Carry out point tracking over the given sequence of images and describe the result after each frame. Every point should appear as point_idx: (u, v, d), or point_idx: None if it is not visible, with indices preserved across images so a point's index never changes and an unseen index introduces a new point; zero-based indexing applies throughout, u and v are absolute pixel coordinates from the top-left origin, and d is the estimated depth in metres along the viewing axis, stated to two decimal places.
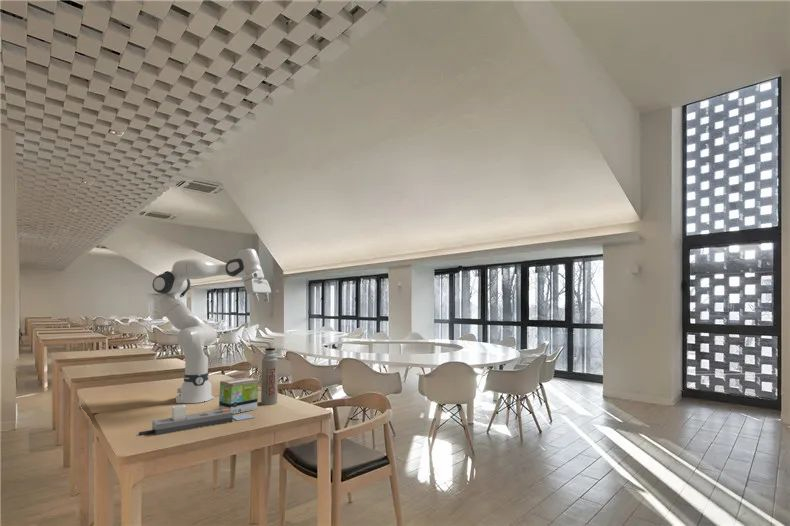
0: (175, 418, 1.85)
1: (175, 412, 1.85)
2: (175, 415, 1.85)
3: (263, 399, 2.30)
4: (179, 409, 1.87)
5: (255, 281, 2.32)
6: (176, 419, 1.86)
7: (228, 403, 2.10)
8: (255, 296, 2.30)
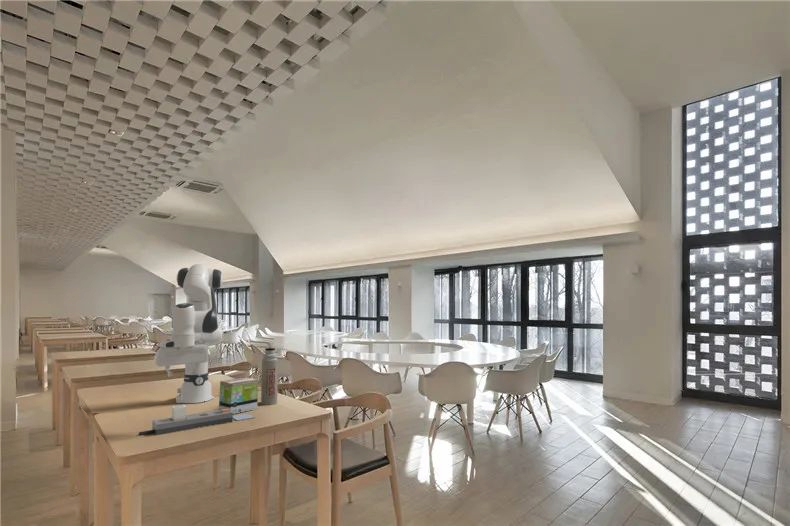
0: (175, 418, 1.85)
1: (175, 412, 1.85)
2: (175, 415, 1.85)
3: (263, 399, 2.30)
4: (179, 409, 1.87)
5: (171, 351, 1.86)
6: (176, 419, 1.86)
7: (228, 403, 2.10)
8: (166, 369, 1.86)
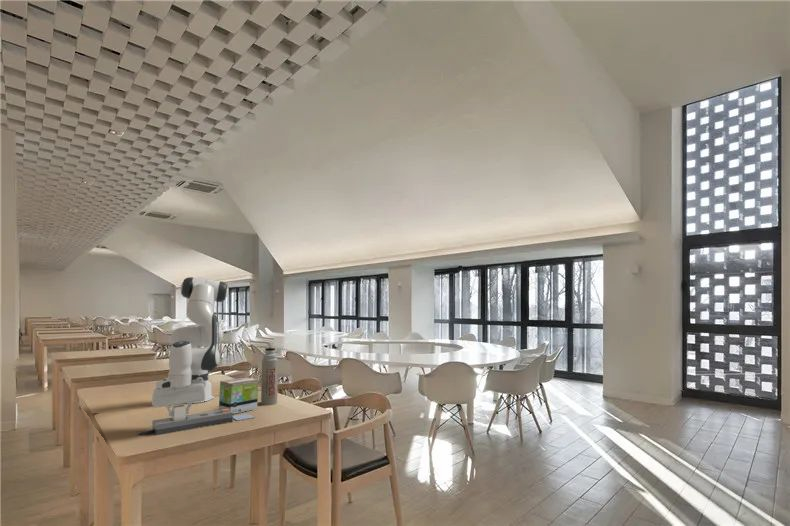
0: (175, 418, 1.85)
1: (175, 412, 1.85)
2: (175, 415, 1.85)
3: (263, 399, 2.30)
4: (179, 409, 1.87)
5: (167, 391, 1.84)
6: (176, 419, 1.86)
7: (228, 403, 2.10)
8: (167, 409, 1.86)
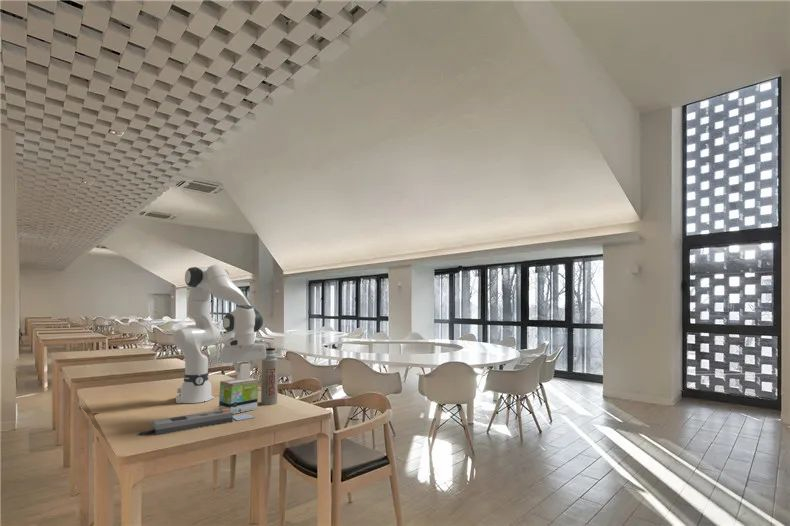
0: (241, 374, 2.03)
1: (241, 368, 2.03)
2: (241, 371, 2.03)
3: (263, 399, 2.30)
4: (245, 366, 2.04)
5: (234, 349, 2.02)
6: (242, 375, 2.03)
7: (228, 403, 2.10)
8: (234, 365, 2.03)
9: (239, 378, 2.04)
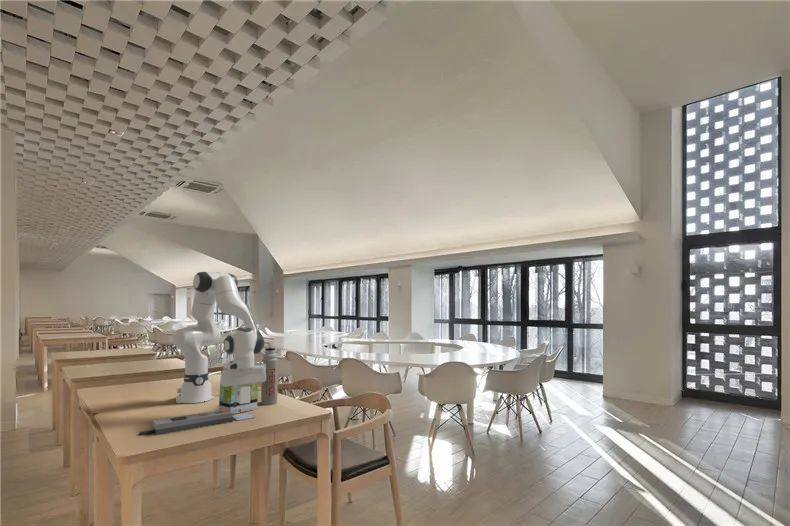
0: (241, 397, 2.02)
1: (241, 391, 2.03)
2: (241, 394, 2.02)
3: (263, 399, 2.30)
4: (245, 389, 2.04)
5: (234, 372, 2.01)
6: (242, 398, 2.03)
7: (228, 403, 2.10)
8: (234, 389, 2.03)
9: (239, 401, 2.03)
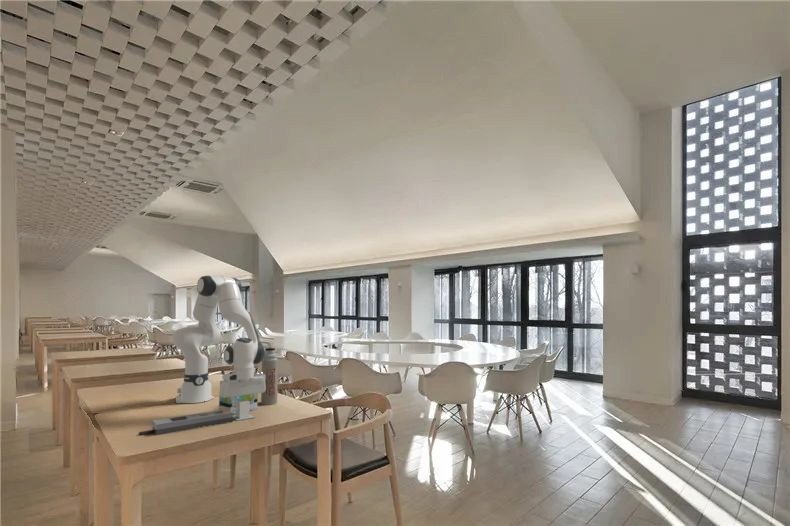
0: (240, 412, 2.02)
1: (240, 406, 2.02)
2: (240, 409, 2.02)
3: (263, 399, 2.30)
4: (244, 404, 2.03)
5: (233, 383, 2.01)
6: (241, 412, 2.02)
7: (228, 403, 2.10)
8: (231, 400, 2.02)
9: (238, 416, 2.03)
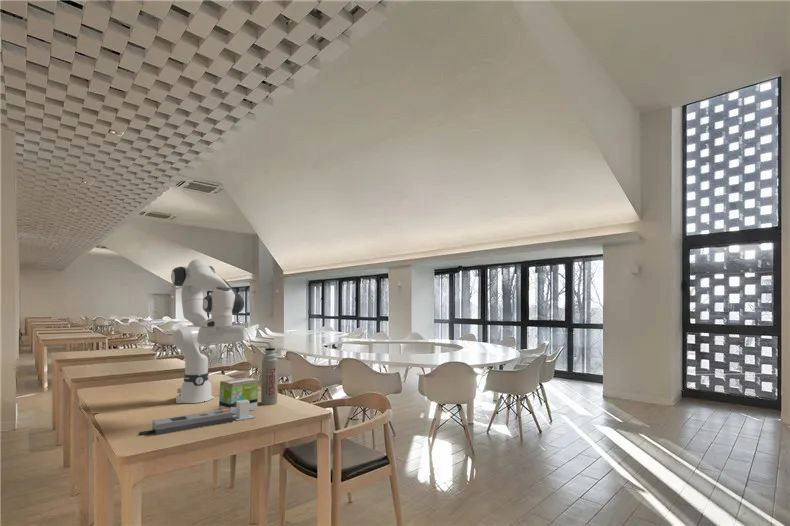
0: (240, 412, 2.02)
1: (240, 406, 2.02)
2: (240, 409, 2.02)
3: (263, 399, 2.30)
4: (244, 404, 2.03)
5: (211, 330, 2.02)
6: (241, 412, 2.02)
7: (228, 403, 2.10)
8: None
9: (238, 416, 2.03)
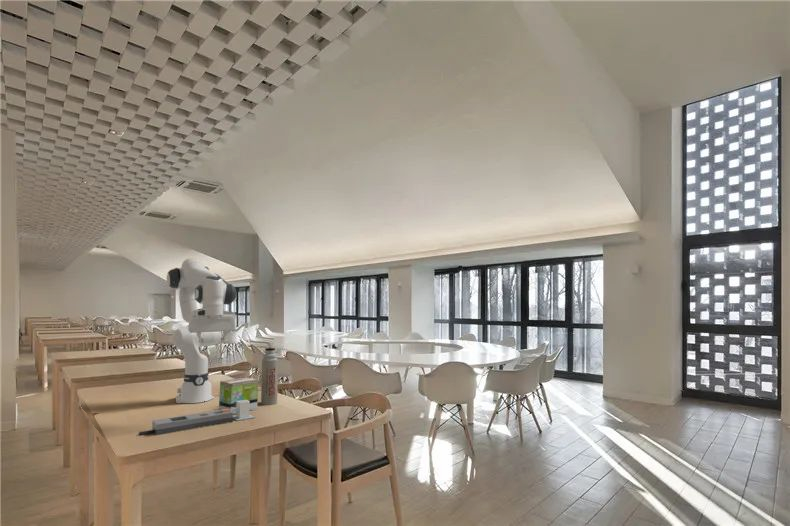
0: (240, 412, 2.02)
1: (240, 406, 2.02)
2: (240, 409, 2.02)
3: (263, 399, 2.30)
4: (244, 404, 2.03)
5: (202, 319, 2.02)
6: (241, 412, 2.02)
7: (228, 403, 2.10)
8: (198, 336, 2.02)
9: (238, 416, 2.03)
